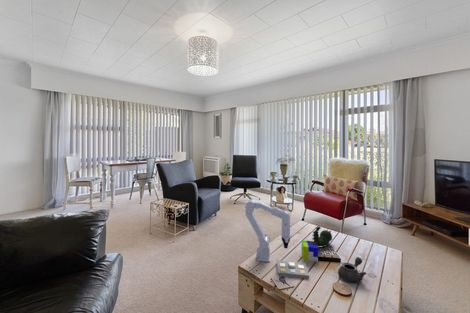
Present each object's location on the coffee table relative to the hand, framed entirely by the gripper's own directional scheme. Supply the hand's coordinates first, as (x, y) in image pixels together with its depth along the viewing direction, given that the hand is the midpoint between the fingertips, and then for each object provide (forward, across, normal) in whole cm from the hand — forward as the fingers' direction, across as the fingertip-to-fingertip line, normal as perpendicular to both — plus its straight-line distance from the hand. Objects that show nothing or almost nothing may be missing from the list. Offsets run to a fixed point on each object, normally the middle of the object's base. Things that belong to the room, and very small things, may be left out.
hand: (285, 247), depth 145 cm
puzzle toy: (+11, +10, -18) cm, 24 cm away
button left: (+10, -7, +3) cm, 13 cm away
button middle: (+9, -7, -3) cm, 12 cm away
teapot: (+12, -9, -41) cm, 44 cm away
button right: (+10, -7, -9) cm, 16 cm away
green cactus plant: (+11, +31, -33) cm, 46 cm away
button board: (+10, -9, -3) cm, 14 cm away
